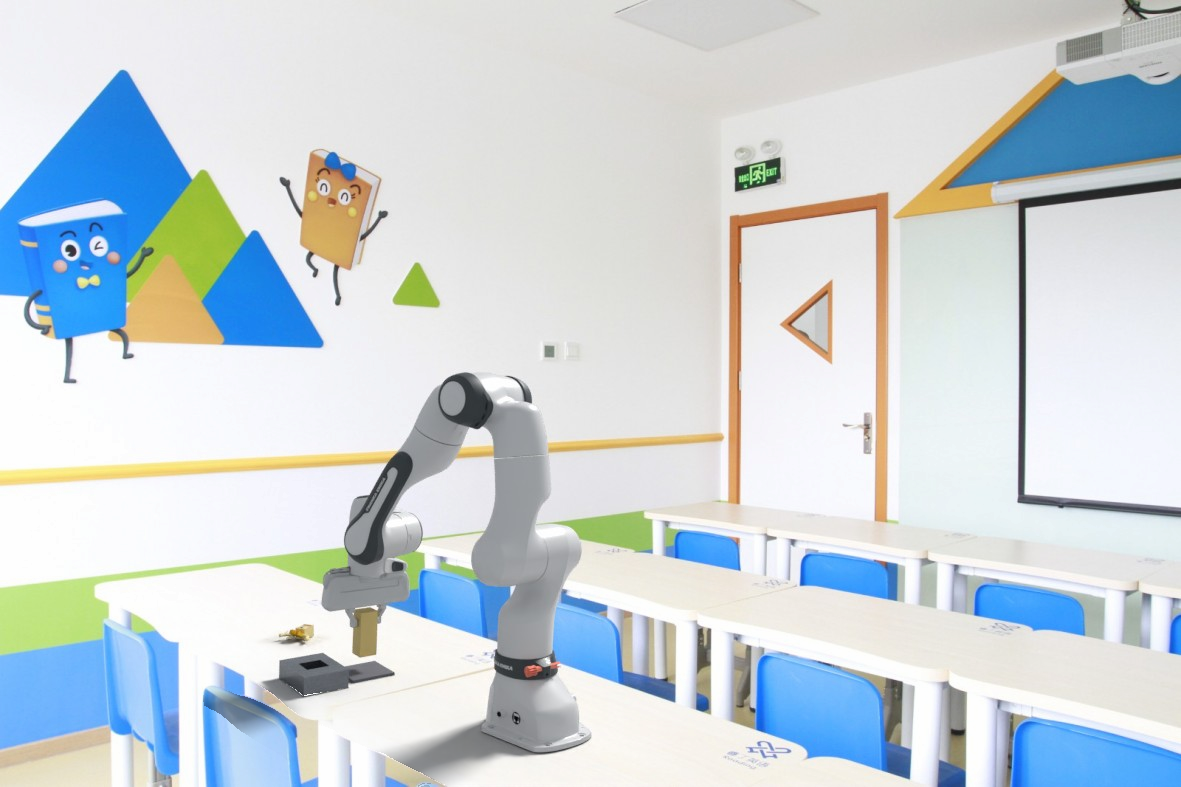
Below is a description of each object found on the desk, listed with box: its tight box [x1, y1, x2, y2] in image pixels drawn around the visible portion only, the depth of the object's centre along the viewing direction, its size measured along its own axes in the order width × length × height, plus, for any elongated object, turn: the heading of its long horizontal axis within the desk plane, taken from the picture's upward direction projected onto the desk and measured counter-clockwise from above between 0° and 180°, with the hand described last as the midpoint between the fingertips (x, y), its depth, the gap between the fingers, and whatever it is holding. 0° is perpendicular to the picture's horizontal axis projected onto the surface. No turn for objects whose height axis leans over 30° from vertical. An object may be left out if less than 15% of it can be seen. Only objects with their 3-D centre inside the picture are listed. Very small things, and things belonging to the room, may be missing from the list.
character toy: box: [278, 623, 315, 642], centre depth 228 cm, size 8×3×8 cm
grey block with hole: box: [278, 652, 350, 697], centre depth 197 cm, size 14×10×4 cm
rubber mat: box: [343, 660, 395, 684], centre depth 205 cm, size 10×10×1 cm
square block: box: [351, 606, 378, 658], centre depth 205 cm, size 4×4×10 cm
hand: (365, 625), depth 205 cm, fingers closed on square block, 4 cm apart
